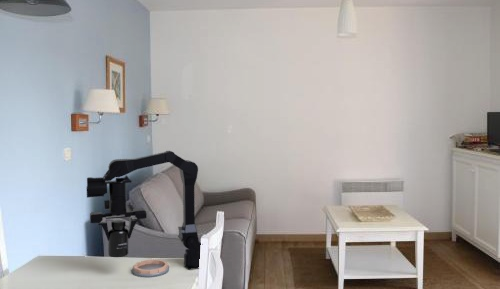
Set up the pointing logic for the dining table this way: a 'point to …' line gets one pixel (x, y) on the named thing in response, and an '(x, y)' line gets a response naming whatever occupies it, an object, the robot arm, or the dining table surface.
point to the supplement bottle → (118, 239)
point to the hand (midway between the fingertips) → (118, 239)
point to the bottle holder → (150, 268)
